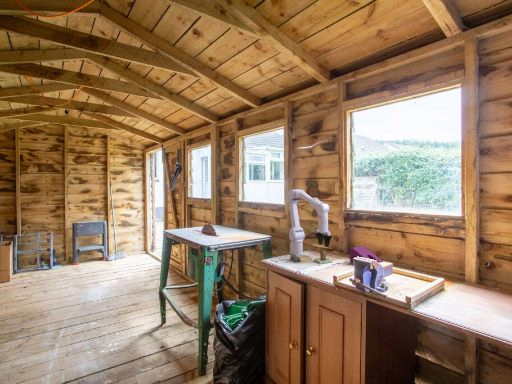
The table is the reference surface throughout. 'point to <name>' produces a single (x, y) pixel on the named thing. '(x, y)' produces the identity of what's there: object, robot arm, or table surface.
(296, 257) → the dog
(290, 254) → the dog
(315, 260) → the tray
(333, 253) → the table surface
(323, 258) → the dowel
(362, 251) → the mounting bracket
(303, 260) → the plate
